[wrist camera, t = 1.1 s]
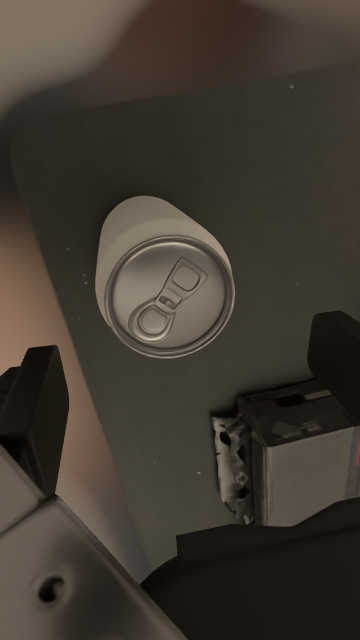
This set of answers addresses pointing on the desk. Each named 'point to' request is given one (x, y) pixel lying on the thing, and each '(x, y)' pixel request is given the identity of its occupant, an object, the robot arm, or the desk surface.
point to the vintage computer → (288, 455)
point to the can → (161, 279)
